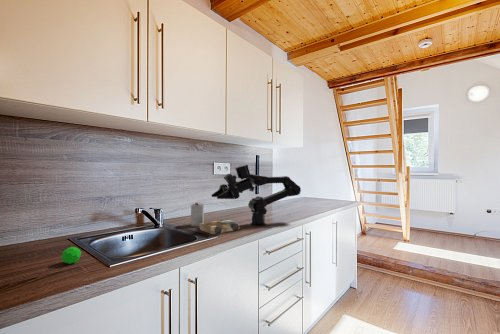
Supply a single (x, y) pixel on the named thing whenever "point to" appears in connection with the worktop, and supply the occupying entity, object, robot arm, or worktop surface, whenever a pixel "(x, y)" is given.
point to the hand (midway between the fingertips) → (214, 196)
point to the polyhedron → (71, 255)
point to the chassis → (219, 226)
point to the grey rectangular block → (197, 214)
